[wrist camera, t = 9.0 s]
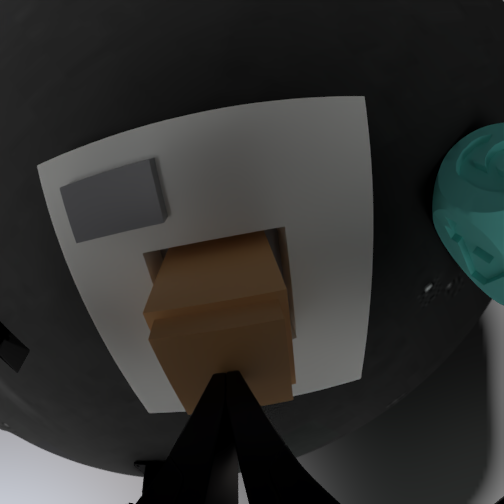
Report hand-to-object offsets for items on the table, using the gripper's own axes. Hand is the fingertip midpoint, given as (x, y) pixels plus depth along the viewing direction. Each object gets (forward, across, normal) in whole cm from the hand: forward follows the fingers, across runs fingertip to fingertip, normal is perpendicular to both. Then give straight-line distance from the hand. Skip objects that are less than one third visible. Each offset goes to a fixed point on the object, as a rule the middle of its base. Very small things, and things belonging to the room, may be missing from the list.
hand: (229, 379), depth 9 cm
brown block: (+7, 0, 0) cm, 7 cm away
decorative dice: (+8, -17, -2) cm, 19 cm away
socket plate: (+8, 0, 0) cm, 8 cm away
